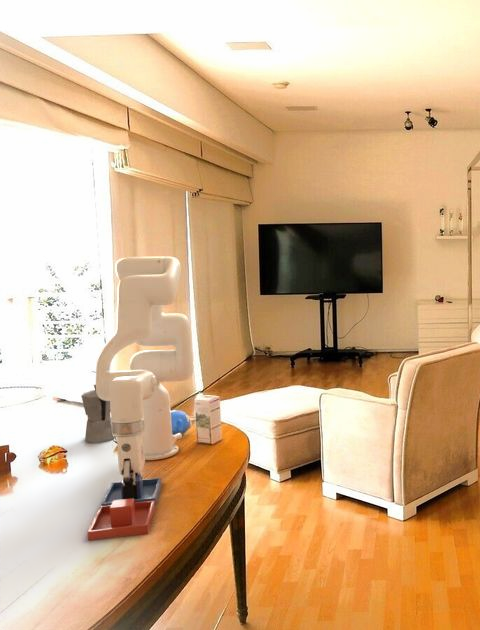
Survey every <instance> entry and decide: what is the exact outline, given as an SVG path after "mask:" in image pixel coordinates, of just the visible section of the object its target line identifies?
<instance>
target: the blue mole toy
mask: <svg viewBox="0 0 480 630" xmlns="http://www.w3.org/2000/svg"><path fill="white" fill-rule="evenodd" d="M171 423H172V435H175V434H178V433H181V434H182V436H183V435H185V434H186V433H187V432H188V430H189V429H191V427H192V425H194V424H196V417H195V418H192V417H190V416H189V415H188V414H187V413H186V412H185V411H183V410H180V409H174V410H171Z"/></svg>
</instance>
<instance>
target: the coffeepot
mask: <svg viewBox="0 0 480 630" xmlns="http://www.w3.org/2000/svg"><path fill="white" fill-rule="evenodd" d="M93 387H94V390H89V391H86V392H83V393H82V394H81V396H80V397H81V400H82V404H83V408H84V412H85V415H86V416H87V420H86V427H85V434H84V435H85V437H84V441H85V442H87V443H92V444H93V443H94V444H95V443H98V444H99V443H104V442H109V441H111V440H113V439H116V436H115V437H114V436H113V435H112V424H111V409H110V401H105V400H102V399H100V398H99V397H98V395H97V392H96V384H93Z"/></svg>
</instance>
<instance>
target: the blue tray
mask: <svg viewBox="0 0 480 630" xmlns="http://www.w3.org/2000/svg"><path fill="white" fill-rule="evenodd" d="M121 482H122V481H112V482H111V483H110V485H109V487H108V489H107V490H106V493H105V495H104V497H103V499H102V501H101V503H100V506H107V505H112V502H113V500H122V494H121ZM162 483H163V482H162V477H153V478H143V491H144V492H143V494H142V497H141V498H139V499H135V500H134V503H135V502H144V501H154V500H155V507H156V506H157V502H158V499H159V495H160V492H161V489H162V485H163V484H162Z"/></svg>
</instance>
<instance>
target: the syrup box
mask: <svg viewBox="0 0 480 630" xmlns="http://www.w3.org/2000/svg"><path fill="white" fill-rule="evenodd" d="M194 412H195V413H194V414H195V418H196V422H195V429H196V431H195V432H196V442H197V443H198V444H204V445H205V444H207V445H214V444H215V443H218V442H219V441H222V440H223V432H222V417H221V398H220V396H219V395H209V394H203V395H200V396H198V397H196V398H194Z"/></svg>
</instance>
